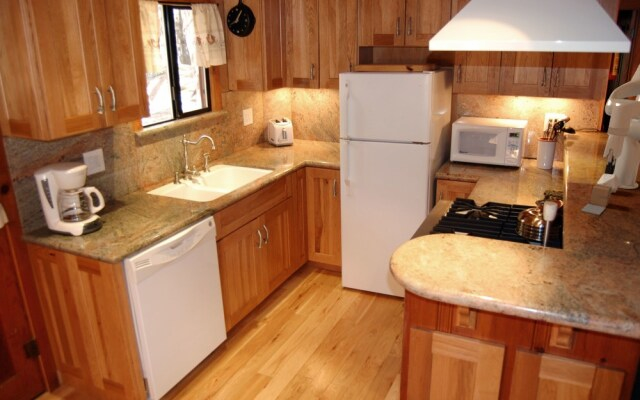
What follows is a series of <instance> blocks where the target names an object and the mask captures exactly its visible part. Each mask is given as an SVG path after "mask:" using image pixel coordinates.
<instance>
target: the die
mask: <svg viewBox="0 0 640 400" xmlns="http://www.w3.org/2000/svg"><path fill="white" fill-rule="evenodd" d="M596 184H602V185H607V186H612V190H611V194H615V193H616V192H617V190H618V189H620V188H619V186H620V185H621V184H622V183H621V181H620V180H619V179H618V178H617V176H616V175H615V174H612V175H611V174H606V173H603V174H602V175H601V177H599V180H598V181H597V182H596Z"/></svg>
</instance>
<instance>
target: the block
mask: <svg viewBox="0 0 640 400" xmlns="http://www.w3.org/2000/svg"><path fill="white" fill-rule="evenodd" d="M611 190H612V186H607V185H602V184H597V183H595V185H593V186H592V190H591V194H590V195H591V196H590V200H589V204H591V205H596V206H600V207H605V208H606V207H607V206H608V205H609V203H610V199H611V194H612V193H611Z"/></svg>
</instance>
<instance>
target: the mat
mask: <svg viewBox="0 0 640 400" xmlns="http://www.w3.org/2000/svg"><path fill="white" fill-rule="evenodd" d="M605 210H606V207H600V206H596V205H591V204H590V203H587V204H586V205H584V207H583V208H581V209H580V212H581V213H582V212H583V213H587V214H592V215H595V216H600V215H601V214H602V213H603V212H604V211H605Z"/></svg>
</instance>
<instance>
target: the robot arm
mask: <svg viewBox="0 0 640 400" xmlns="http://www.w3.org/2000/svg"><path fill="white" fill-rule="evenodd" d="M637 66H638V67H637V69H636V71H635V73H634V74H633V76H632V78H631V80H630V81H628V82H626V83H624V84H621V85H620V86H618V87H616V88H614V90H613V91H612V93H610V96H609V98H608V99H607V101H606V104H605V106H604V112H605V114H606V115H608V116H610V119H609V123H608V124H609V125H608V128H607V129H608V130H607V134H606V135H608V138H607V140H606V144H605V149H604V152H603V156H602V157H603V158H604V159H606V158H607V161H606V165H605V169H604V174H611V175H612V174H615V175H616V176H617V178H618V179H619V180H620V181H621V183H622V184H621V185H620V186H619V188H618V189H625V190H627V189H628V190H633V189H637V188H638V187H639V183H637V182H636V180H637V175H638V170H639V166H640V64H639V65H637ZM635 96H636V97H635ZM631 97H635V99H634V100H633V99H627V98H631ZM625 98H626V99H625Z"/></svg>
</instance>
